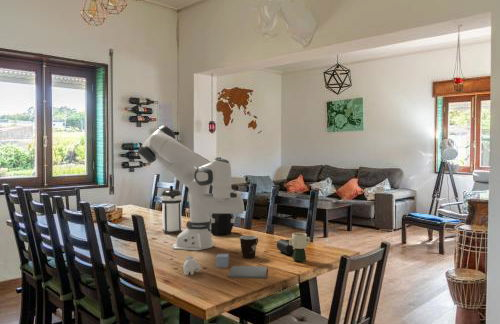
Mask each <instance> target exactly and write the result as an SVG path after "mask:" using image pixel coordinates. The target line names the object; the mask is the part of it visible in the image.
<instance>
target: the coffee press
mask: <svg viewBox="0 0 500 324" xmlns="http://www.w3.org/2000/svg"><path fill="white" fill-rule="evenodd" d="M161 207H162V209H161V211H162V215H161V217H162V232H163V234H164V235H167V234H168V233H170V232H178V233H179V234H180V233H181V232H182V231H183V230H182V192H181V190H179V189H174V186H173V185H170V186H169V189H164V190H163V191H162V192H161Z"/></svg>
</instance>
